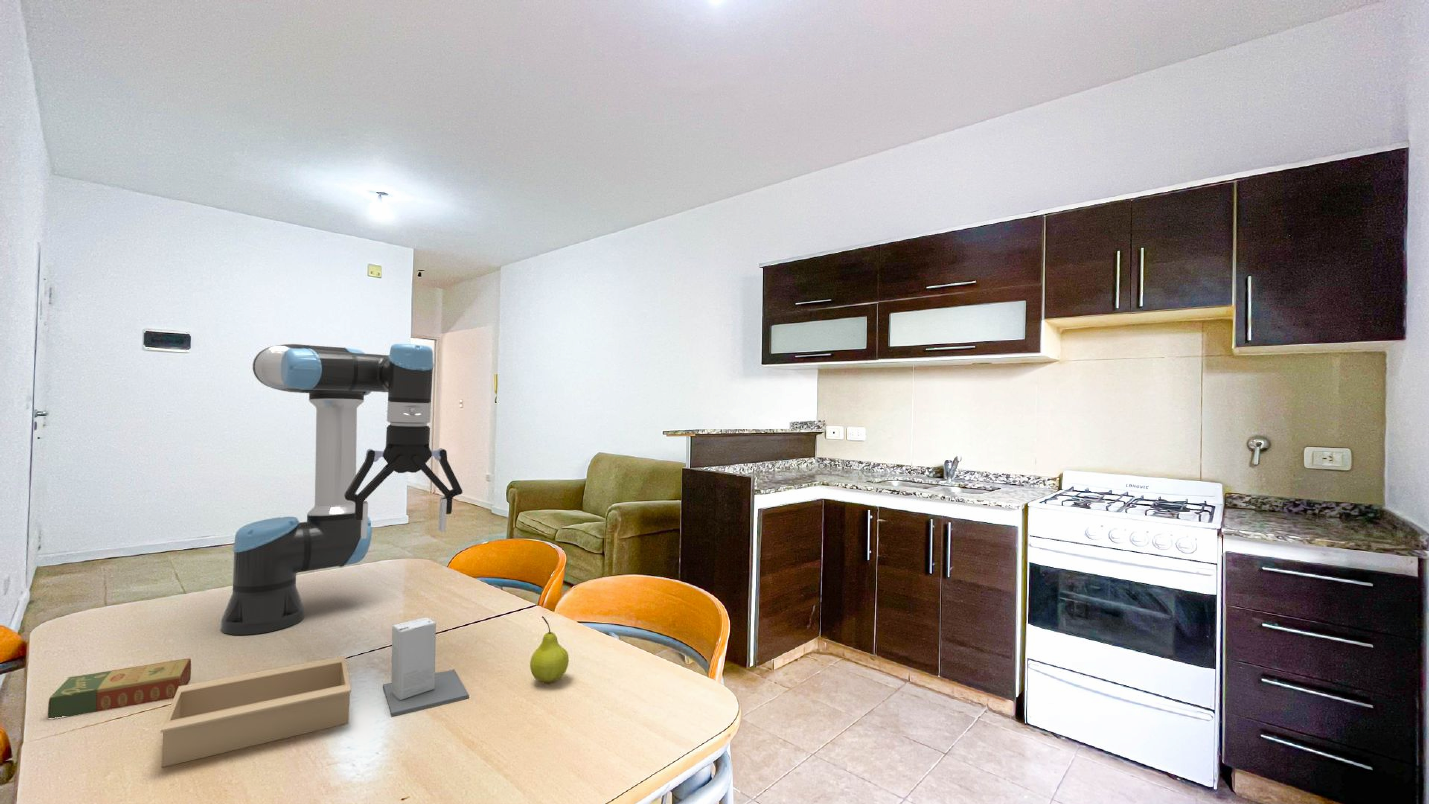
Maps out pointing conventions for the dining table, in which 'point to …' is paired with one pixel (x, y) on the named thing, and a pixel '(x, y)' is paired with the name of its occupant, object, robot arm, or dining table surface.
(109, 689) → the carton
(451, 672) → the mat
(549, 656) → the fruit
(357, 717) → the dining table surface
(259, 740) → the tray
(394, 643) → the skincare box
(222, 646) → the dining table surface
